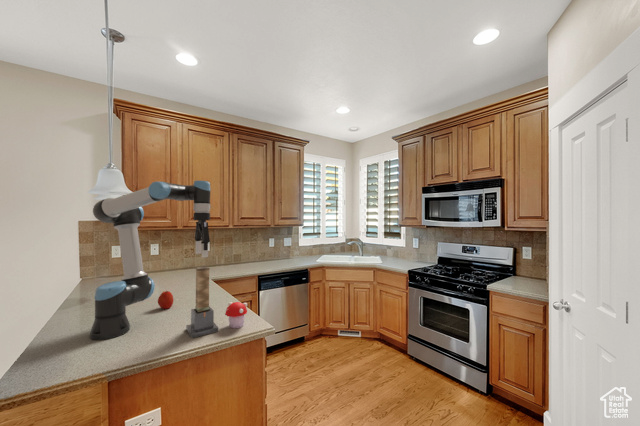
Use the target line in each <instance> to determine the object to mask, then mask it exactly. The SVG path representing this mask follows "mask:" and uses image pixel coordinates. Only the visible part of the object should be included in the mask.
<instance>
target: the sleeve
mask: <svg viewBox="0 0 640 426" xmlns="http://www.w3.org/2000/svg"><path fill="white" fill-rule="evenodd" d="M214 313H215V311H214V310H213V309H212V307H211V306H210V305H209V310H206V311H201V312H198V311H197V310H196V308H191V309H190V324H187V325H185V327H186V331H187V333H188V335H189V337H190V338H191V339H194V338H198V337H201V336H206V335H210V334H213V333H214V334H215V333H218V332H219V327H218V326H217V324H216V323H215V322H214V317H215V315H214Z"/></svg>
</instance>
